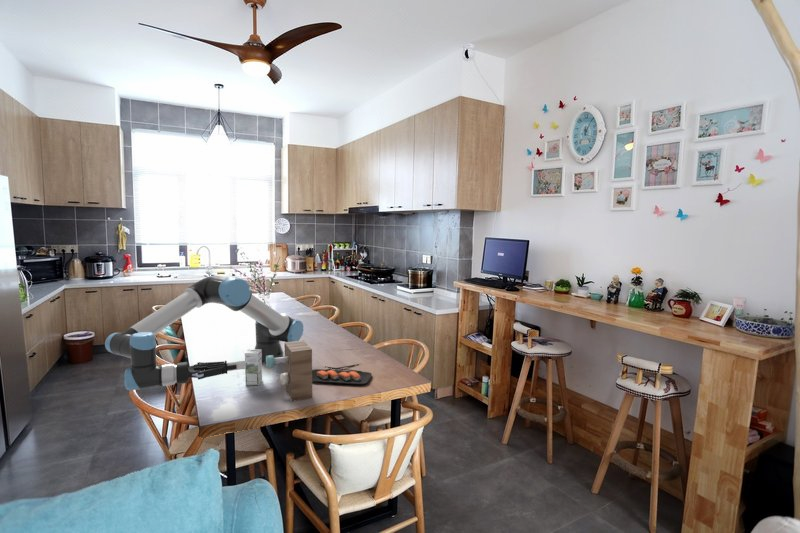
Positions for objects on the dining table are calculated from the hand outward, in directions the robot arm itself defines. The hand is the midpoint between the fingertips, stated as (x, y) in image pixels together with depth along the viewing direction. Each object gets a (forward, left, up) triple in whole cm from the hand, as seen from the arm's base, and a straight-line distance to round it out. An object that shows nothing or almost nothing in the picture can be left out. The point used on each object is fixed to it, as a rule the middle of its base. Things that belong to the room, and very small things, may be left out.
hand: (245, 364), depth 160 cm
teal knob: (0, +13, -2) cm, 13 cm away
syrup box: (-19, +5, -15) cm, 25 cm away
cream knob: (0, +19, -10) cm, 21 cm away
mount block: (0, +20, -15) cm, 25 cm away
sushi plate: (-15, +44, -16) cm, 50 cm away
